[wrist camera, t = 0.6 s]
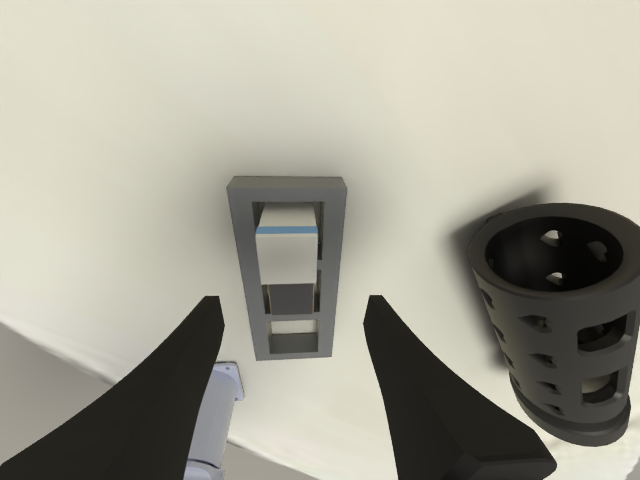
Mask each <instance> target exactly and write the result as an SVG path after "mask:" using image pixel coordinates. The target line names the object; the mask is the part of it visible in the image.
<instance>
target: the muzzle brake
mask: <svg viewBox="0 0 640 480" xmlns="http://www.w3.org/2000/svg"><path fill="white" fill-rule="evenodd" d="M486 222H487V224H486V225H485V226H483V227H482V228H481V229H480V230H479V231H478V232H477V233H476V235H475V236H474V237H473V239H472V241H471V243H470V247H469V251H468V252H469V260H470V263H471V266H472V269H473V271H474V274H475V277H476V280H477V282H478V285H479V288H480V291H481V294H482V296H483V299H484V302H485V305H486V307H487V310H488V313H489V316H490V319H491V321H492V324H493V327H494V330H495V332H496V335H497V338H498V341H499V344H500V346H501V349H502V352H503V355H504V357H505V360H506V363H507V366H508V368H509V376H510V382H511V385H512V387H513V390H514V393H515V395H516V398H517V401H518V402H519V404H520V406H521V407H522V409H523V410H524V412H525V413H526V414H527V415H528V417H529V418H530V419H531V420H532V421H534V422H535V423H536V424H537V425H538V426H539V427H541V428H542V429H543V430H545V431H546V432H548V433H549V434H551V435H553V436H555V437H557V438H559V439H561V440H564V441H566V442H569V443H572V444H576V445H581V446H590V447H598V446H604V445H608V444H611V443H613V442H615V441H617V440H618V439H619V438H620V437H622V436H623V435H624V433H625V431H626V429H627V427H628V422H629V416H630V410H631V404H630V397H629V395H628V392H629V386H630V380H631V374H632V368H633V362H634V356H635V350H636V344H637V338H638V331H639V326H640V227H639V226H638V225H637V224H635V223H634V222H633V221H631V220H630V219H628V218H626V217H624V216H622V215H620V214H618V213H616V212H613V211H610V210H607V209H604V208H601V207H595V206H590V205H584V204H573V203H548V204H539V205H533V206H528V207H523V208H520V209H517V210H513V211H510V212H508V213H506V214H502V213H500V214H498V215H496V216H494V217H492V218H490V219H488V220H486ZM551 230H555V231H558V232H557V233H558V237H559V239H553V238H549V237H547V236H545V235H544V234H546V233H547V232H548V231H551ZM555 272H558V273H561V274H562V278H559V277H555V276H552V275H551V274H552V273H555Z"/></svg>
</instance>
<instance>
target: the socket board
mask: <svg viewBox="0 0 640 480" xmlns="http://www.w3.org/2000/svg"><path fill="white" fill-rule="evenodd" d="M226 188H227V193H228V199H229V205H230V211H231V217H232V223H233V228H234V234H235V240H236V246H237V252H238V257H239V263H240V269H241V275H242V281H243V287H244V292H245V298H246V304H247V310H248V316H249V322H250V327H251V333H252V339H253V345H254V351H255V357H256V361H263V360H283V359H303V358H322V357H332V347H333V336H334V325H335V314H336V303H337V292H338V282H339V271H340V260H341V249H342V238H343V227H344V216H345V206H346V195H347V187H346V185H345V183H344V181H343V178H342V177H261V176H234V178H233V179H232V180H231V182H230V183H229V185H228V186H227V187H226ZM258 202H321V225H320V244H318V250H317V270H319V279H318V294H314V283H302V284H268V291H269V295H268V292H267V284H263V285H261V279H260V271H259V263H258V255H257V246H256V238H255V237H256V234H255V233H256V229H257V227H258V226H259V223H260V217H259V208H258ZM295 320H317V333H302V334H278V335H272V330H271V321H295Z"/></svg>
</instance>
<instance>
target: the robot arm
mask: <svg viewBox="0 0 640 480" xmlns="http://www.w3.org/2000/svg"><path fill="white" fill-rule="evenodd" d="M363 325H364V331H365V337H366V342H367V346H368V349H369V353H370V356H371V359H372V363H373V366H374V369H375V373H376V376H377V379H378V382H379V386H380V389H381V393H382V396H383V400H384V405H385V410H386V415H387V419H388V424H389V430H390V435H391V440H392V445H393V451H394V457H395V462H396V468H397V474H398V480H543V479H544V478H546V477H547V476H549V475H551V474H552V473H553V472H554V471H555V470H556V468H557V463H556V461H555V459H554V458H553V456H552V455H551V453H550V452H549V451H548V449H547V448H546V446H545V445H544V443H543V442H542V440H541V439H540V437H539V436H538V435H537V433H536V432H535V431H534V430H533V429H532V428H530V427H529V426H527V425H526V424H524V423H523V422H521V421H520V420H518V419H517V418H515V417H513V416H512V415H510V414H509V413H507V412H506V411H504V410H503V409H501V408H500V407H498V406H497V405H496V404H494V403H493V402H492V401H490V400H489V399H487V398H486V397H485V396H483V395H482V394H481V393H479V392H478V391H477V390H475V389H474V388H473V387H471V386H470V385H469V384H468V383H466V382H465V381H464V380H463V379H461V378H460V377H459V376H458V375H457V374H455V373H454V372H453V371H452V370H451V369H449V368H448V367H447V366H446V365H445V364H444V363H443V362H442V361H441V360H440V359H438V358H437V357H436V356H435V355H434V354H433V353H432V352H431V351H430V350H429V349H428V348H427V347H426V346H425V345H424V344H423V343H422V342H421V341H420V340H419V339H418V337H417V336H416V335H415V334H414V333H413V332H412V331H411V330H410V329H409V327H408V326H407V325H406V324H405V323H404V322H403V321H402V319H401V318H400V317H399V316H398V315H397V313H396V312H395V311H394V310H393V308H392V307H391V306H390V305H389V303H388V302H387V301H386V300H385V298H384V297H383V296H382V295H370V296H369V300H368V305H367V309H366V313H365V318H364V322H363ZM224 327H225V324H224V319H223V314H222V309H221V304H220V299H219V296H205V297H204V298H203V299H202V300H201V301H200V302H199V303H198V304H197V306H196V307H195V308H194V309H193V310H192V311H191V313H190V314H189V315H188V316H187V317H186V318H185V319H184V320H183V321H182V323H181V324H180V325H179V326H178V327H177V328H176V329H175V330H174V331H173V332H172V333H171V334H170V335H169V336H168V337H167V338H166V339H165V340H164V341H163V342H162V343H161V344H160V345H159V346H158V347H157V348H156V349H155V350H154V351H153V352H152V353H151V354H150V355H149V356H148V357H147V358H146V359H145V360H144V361H143V362H142V363H140V364H139V365H138V366H137V367H136V368H135V369H134V370H132V371H131V372H130V373H129V374H128V375H127V376H125V377H124V378H123V379H122V380H121V381H119V382H118V383H117V384H116V385H114V386H113V387H112V388H111V389H110V390H108V391H107V392H106V393H105V394H103V395H102V396H101V397H99V398H98V399H97V400H95V401H94V402H93V403H91V404H90V405H89V406H87V407H86V408H84V409H83V410H82V411H80V412H79V413H78V414H76V415H75V416H73V417H72V418H71V419H70V420H68V421H66V422H65V423H64V424H63V425H61V426H59V427H58V428H56V429H55V430H53V431H52V432H50V433H49V434H47V435H46V436H44V437H43V438H41V439H40V440H38V441H37V442H35V443H34V444H32V445H31V446H29V447H28V448H26V449H24V450H23V451H21V452H20V453H18V454H17V455H15V456H14V457H12V458H10V459H9V460H7V461H6V462H4V463H3V464H2V465H1V466H0V480H223V479H224V473H225V470H221V465H222V460H223V455H224V450H225V445H226V440H227V435H228V430H229V425H230V421H231V416H232V411H233V406H234V401H240V400H243V399H244V393H243V389H242V384H241V380H240V376H239V372H238V368H237V365H236V364H235V363H220V364H215V361H216V358H217V355H218V352H219V349H220V346H221V341H222V337H223V332H224Z"/></svg>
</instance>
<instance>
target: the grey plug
mask: <svg viewBox="0 0 640 480" xmlns="http://www.w3.org/2000/svg"><path fill="white" fill-rule="evenodd" d="M255 234H256V237H255V238H256V246H257V255H258V263H259V271H260V279H261V285H263V284H302V283H316V280H317V250H318V228H317V226H316V220H315V212H314V204H313V202H265V205H264V209H263V212H262V216H261V219H260V223H259V226H258V227H257V229H256V233H255Z"/></svg>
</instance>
